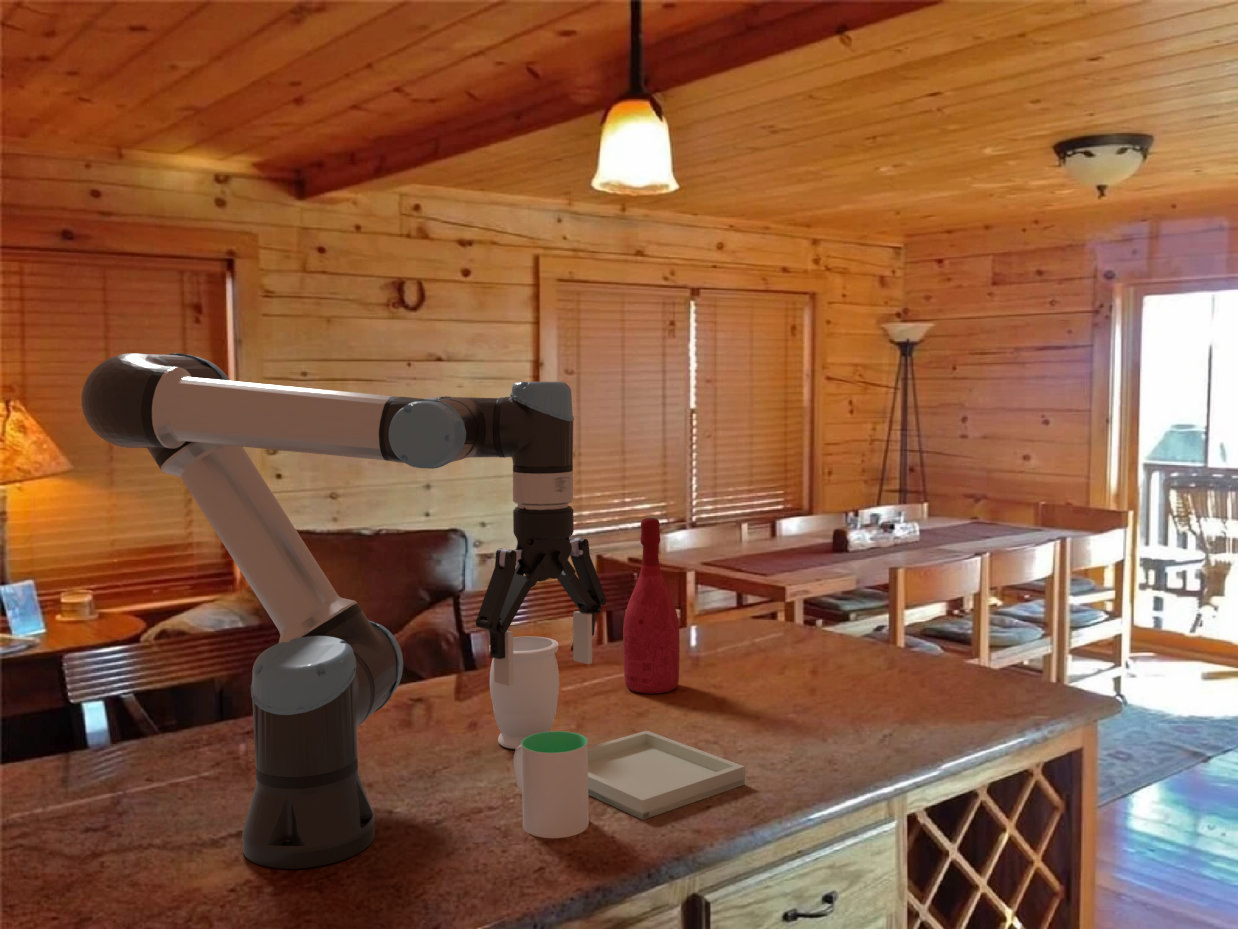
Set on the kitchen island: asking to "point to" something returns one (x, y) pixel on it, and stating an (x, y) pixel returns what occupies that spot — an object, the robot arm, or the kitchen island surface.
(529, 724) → the jar
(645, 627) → the wine bottle
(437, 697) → the kitchen island surface
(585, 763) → the mug
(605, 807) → the kitchen island surface
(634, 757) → the tray
